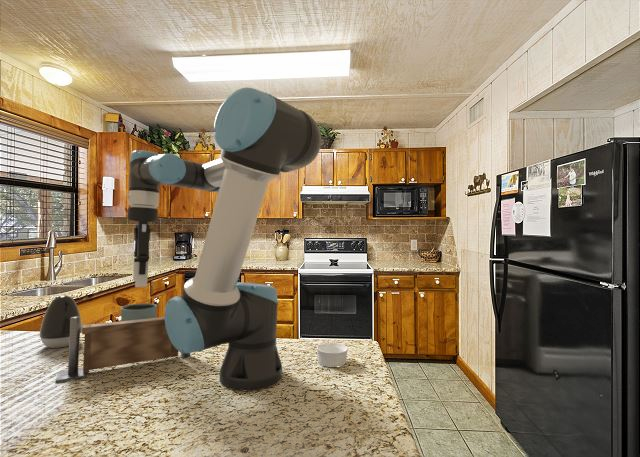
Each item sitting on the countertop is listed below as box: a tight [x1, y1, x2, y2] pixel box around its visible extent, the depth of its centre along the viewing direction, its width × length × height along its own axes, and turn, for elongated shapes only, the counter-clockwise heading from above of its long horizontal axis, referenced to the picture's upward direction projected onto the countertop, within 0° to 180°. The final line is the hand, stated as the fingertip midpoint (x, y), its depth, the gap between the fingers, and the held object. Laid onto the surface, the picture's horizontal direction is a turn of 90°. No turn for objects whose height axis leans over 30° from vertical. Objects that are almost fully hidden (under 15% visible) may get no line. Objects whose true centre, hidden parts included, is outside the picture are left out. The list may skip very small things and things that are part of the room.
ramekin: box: [316, 342, 349, 368], centre depth 92 cm, size 9×9×4 cm
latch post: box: [180, 352, 191, 359], centre depth 93 cm, size 2×2×13 cm
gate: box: [81, 316, 179, 372], centre depth 86 cm, size 22×3×11 cm, turn 123°
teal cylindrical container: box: [120, 302, 158, 321], centre depth 103 cm, size 10×10×12 cm
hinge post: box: [54, 315, 89, 384], centre depth 79 cm, size 6×6×14 cm
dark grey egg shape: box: [39, 294, 83, 349], centre depth 100 cm, size 10×10×15 cm
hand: (139, 283), depth 91 cm, fingers open, 13 cm apart
